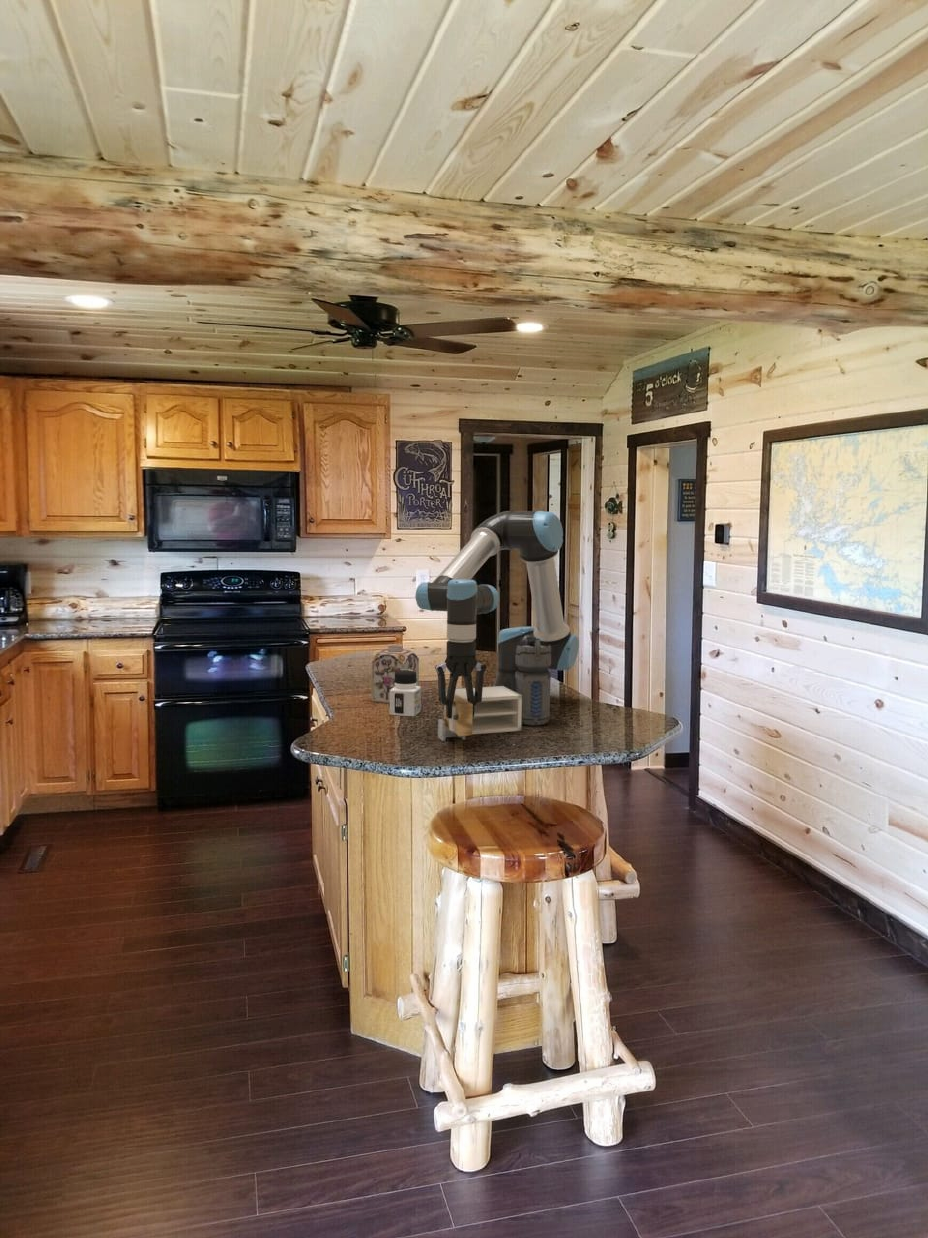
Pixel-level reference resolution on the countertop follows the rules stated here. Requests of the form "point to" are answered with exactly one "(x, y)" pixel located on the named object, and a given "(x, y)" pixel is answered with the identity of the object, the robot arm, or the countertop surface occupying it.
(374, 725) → the countertop surface
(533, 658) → the beverage bottle
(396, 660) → the decorative jar
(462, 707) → the oak door
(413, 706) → the container
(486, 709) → the block
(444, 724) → the bracket
